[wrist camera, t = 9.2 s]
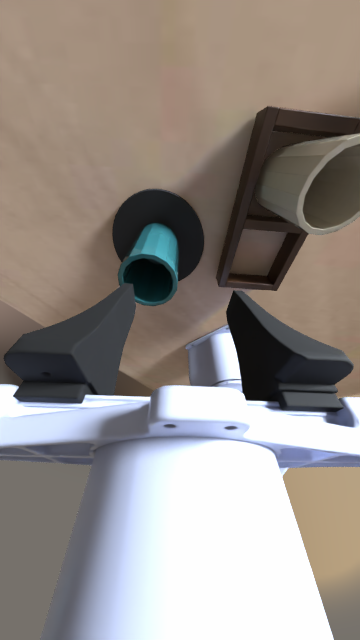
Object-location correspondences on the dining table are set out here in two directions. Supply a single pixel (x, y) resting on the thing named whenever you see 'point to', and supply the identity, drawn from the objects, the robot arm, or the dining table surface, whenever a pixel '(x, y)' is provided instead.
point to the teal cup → (152, 265)
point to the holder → (257, 148)
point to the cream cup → (313, 183)
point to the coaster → (166, 211)
